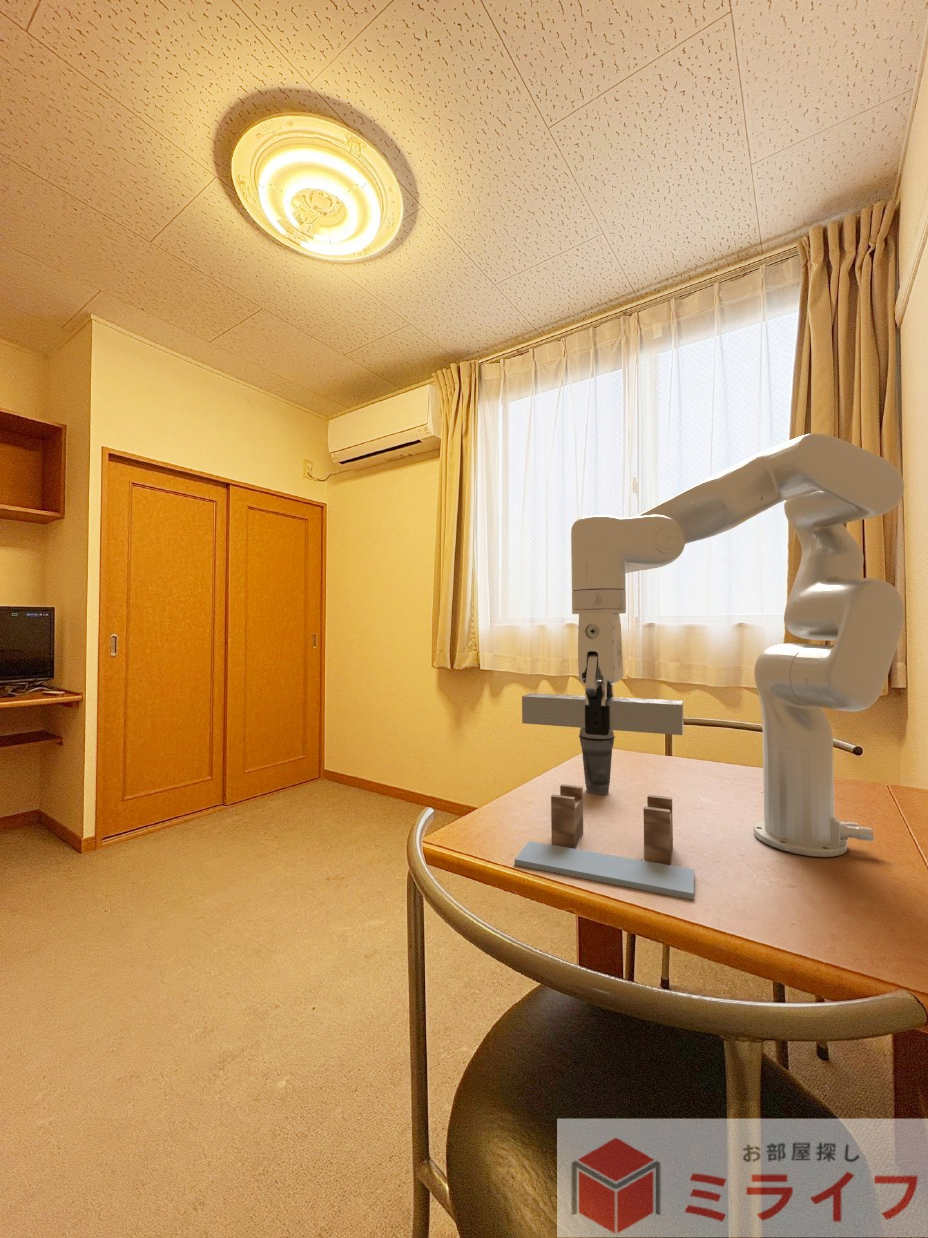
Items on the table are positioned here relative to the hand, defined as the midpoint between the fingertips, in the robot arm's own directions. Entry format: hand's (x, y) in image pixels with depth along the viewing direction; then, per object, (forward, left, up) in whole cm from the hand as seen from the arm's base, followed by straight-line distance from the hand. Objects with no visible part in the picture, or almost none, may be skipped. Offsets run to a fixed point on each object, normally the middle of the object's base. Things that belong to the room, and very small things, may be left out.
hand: (600, 729), depth 74 cm
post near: (-7, -9, -20) cm, 23 cm away
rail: (0, 0, +1) cm, 1 cm away
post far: (+7, -9, -20) cm, 23 cm away
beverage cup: (+7, -35, -20) cm, 41 cm away
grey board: (0, 0, -20) cm, 20 cm away
